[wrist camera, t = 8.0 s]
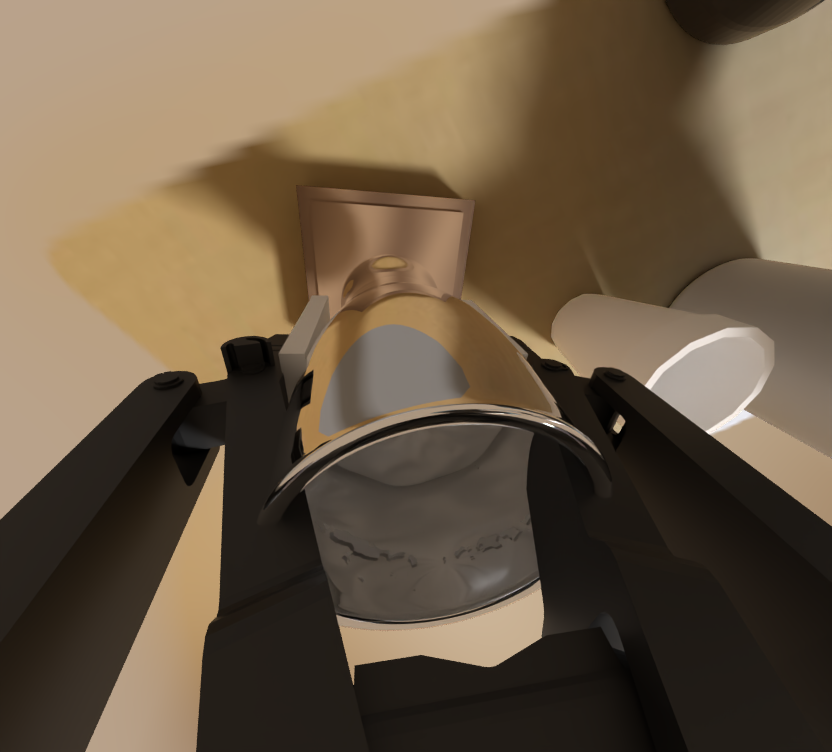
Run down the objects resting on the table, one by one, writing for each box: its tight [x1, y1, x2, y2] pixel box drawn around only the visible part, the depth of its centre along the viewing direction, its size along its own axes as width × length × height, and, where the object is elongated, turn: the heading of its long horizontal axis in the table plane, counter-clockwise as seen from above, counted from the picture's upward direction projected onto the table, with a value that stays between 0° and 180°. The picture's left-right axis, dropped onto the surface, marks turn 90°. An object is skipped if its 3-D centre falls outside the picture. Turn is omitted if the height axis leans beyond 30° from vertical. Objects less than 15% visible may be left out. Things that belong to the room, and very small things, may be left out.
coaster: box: [296, 185, 475, 320], centre depth 24 cm, size 12×12×3 cm
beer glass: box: [256, 254, 613, 631], centre depth 12 cm, size 7×7×15 cm
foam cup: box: [551, 294, 775, 434], centre depth 25 cm, size 10×9×13 cm
